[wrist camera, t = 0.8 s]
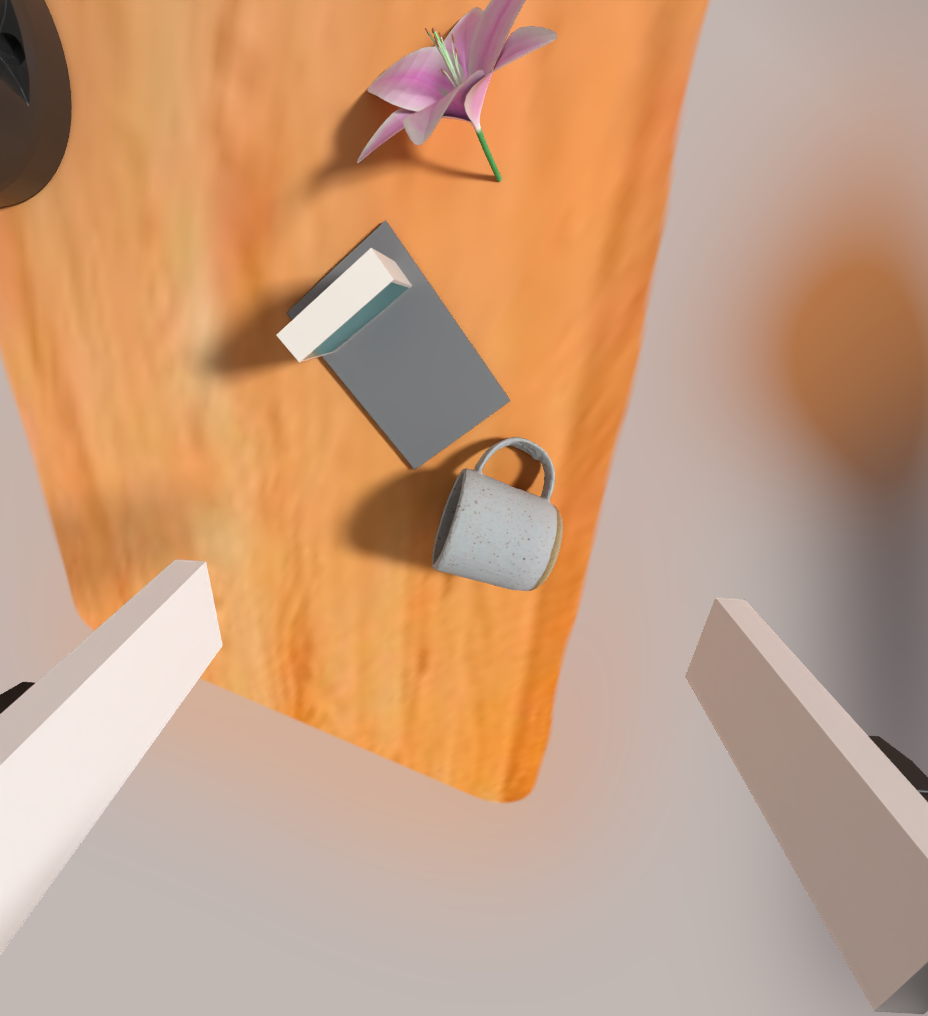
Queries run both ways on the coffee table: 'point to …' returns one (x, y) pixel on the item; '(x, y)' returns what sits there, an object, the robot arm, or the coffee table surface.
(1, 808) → the robot arm
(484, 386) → the mat
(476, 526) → the ceramic mug
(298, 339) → the tile
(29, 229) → the coffee table surface
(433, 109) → the lily
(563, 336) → the coffee table surface
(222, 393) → the coffee table surface
